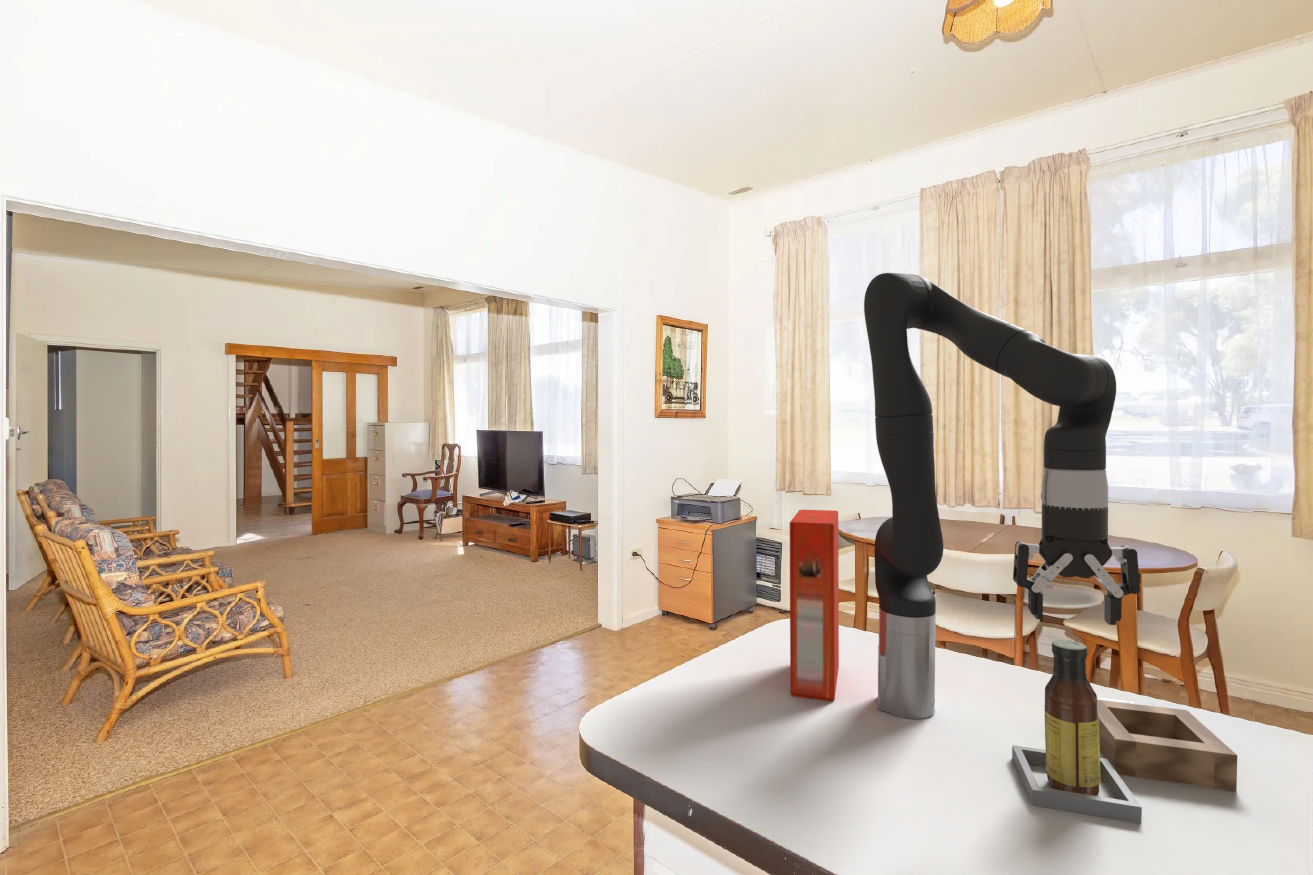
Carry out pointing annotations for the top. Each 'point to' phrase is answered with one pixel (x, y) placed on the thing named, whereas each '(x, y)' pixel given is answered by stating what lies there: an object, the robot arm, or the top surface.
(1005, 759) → the top surface
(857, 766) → the top surface
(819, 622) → the file binder
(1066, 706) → the sauce bottle
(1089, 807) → the square frame
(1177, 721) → the holder
